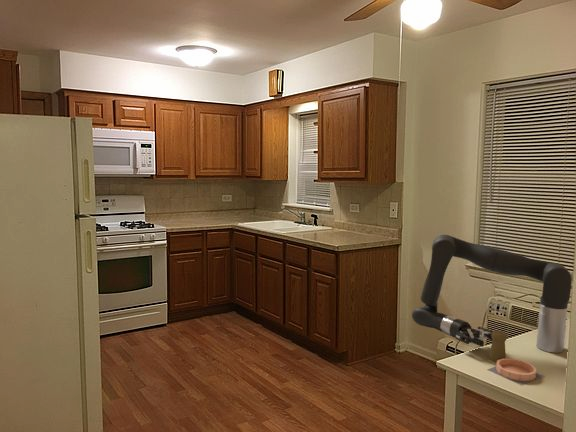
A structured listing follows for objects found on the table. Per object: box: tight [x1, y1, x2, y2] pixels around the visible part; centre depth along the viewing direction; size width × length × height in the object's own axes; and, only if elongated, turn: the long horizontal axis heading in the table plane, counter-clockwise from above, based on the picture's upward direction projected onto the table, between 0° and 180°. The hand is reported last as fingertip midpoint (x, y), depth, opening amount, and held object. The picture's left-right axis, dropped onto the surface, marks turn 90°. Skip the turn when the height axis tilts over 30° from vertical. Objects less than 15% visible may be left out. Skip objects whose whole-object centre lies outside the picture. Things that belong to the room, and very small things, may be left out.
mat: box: [486, 366, 546, 386], centre depth 164 cm, size 13×13×1 cm
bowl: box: [495, 358, 537, 382], centre depth 164 cm, size 12×12×2 cm
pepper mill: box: [488, 330, 508, 364], centre depth 174 cm, size 6×6×11 cm
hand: (490, 341), depth 177 cm, fingers open, 8 cm apart
